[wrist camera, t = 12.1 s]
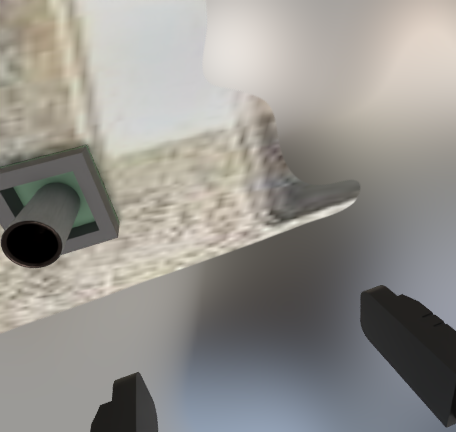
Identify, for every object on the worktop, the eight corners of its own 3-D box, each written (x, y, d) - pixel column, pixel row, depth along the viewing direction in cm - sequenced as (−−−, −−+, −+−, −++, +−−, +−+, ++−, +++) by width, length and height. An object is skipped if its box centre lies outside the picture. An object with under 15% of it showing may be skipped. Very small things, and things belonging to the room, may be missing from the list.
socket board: (-9, 169, 33) (-27, 180, 29) (87, 144, 34) (81, 152, 31) (36, 247, 37) (26, 265, 34) (119, 222, 39) (117, 237, 35)
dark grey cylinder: (61, 174, 34) (34, 210, 25) (89, 205, 36) (74, 249, 27) (25, 196, 34) (-14, 241, 25) (56, 226, 36) (30, 277, 27)
